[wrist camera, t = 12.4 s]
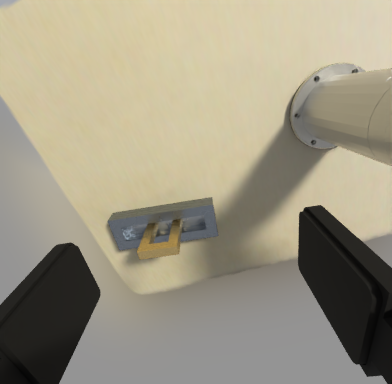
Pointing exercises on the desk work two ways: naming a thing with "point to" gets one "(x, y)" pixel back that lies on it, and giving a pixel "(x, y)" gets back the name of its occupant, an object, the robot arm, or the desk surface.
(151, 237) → the wooden u-shaped block
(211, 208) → the rail
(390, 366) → the robot arm
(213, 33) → the desk surface
